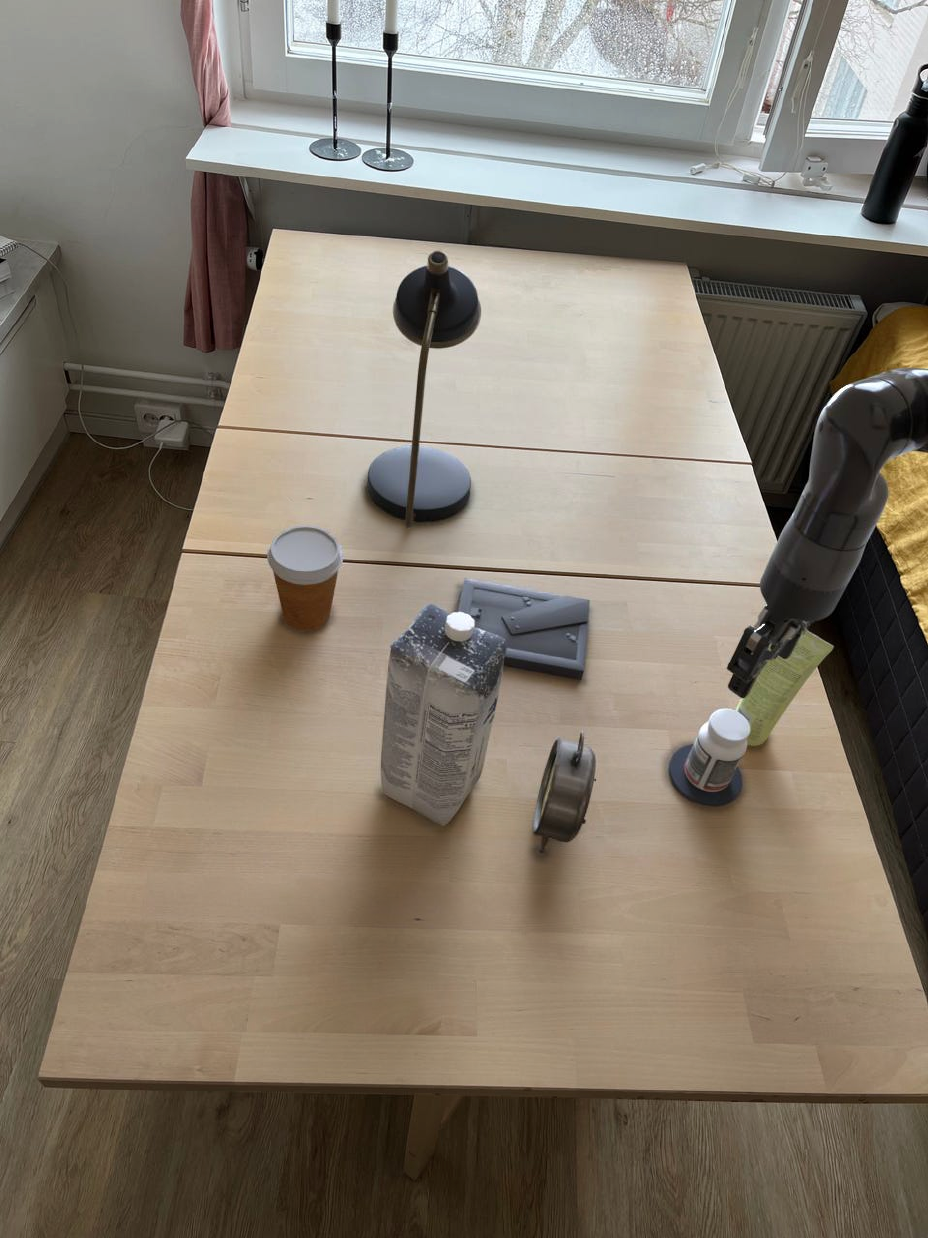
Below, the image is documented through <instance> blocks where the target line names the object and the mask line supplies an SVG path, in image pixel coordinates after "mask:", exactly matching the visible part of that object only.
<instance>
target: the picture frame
mask: <svg viewBox="0 0 928 1238" xmlns="http://www.w3.org/2000/svg"><path fill="white" fill-rule="evenodd" d="M590 603H591V600H590V599H586V598H581V597H576V596H571V595H565V594H564V595H562V594H557V593H552V592H551V593H550V592H545V591H540V590H535V589H530V588H529V589H528V588H522V587H517V586H512V585H506V584H500V583H494V582H489V581H484V580H479V579H473V578H466V577H464V580H463V584H462V589H461V593H460V599H459V603H458V608H457V611H456V613H458V612H463V613H465V614H469V615H470V616H471V618H473V619H474V621H475V623H474V627H475V628H478V629H481V630H484V631H487V632H490V633H492V634H495V635H498V636H500V637H502V638H504V639H505V640H506V643H507V646H506V653H505V657H504V663H503V667H507V668H512V669H517V670H521V671H528V672H534V673H537V674H538V673H539V674H545V675H550V676H555V677H561V678H567V679H571V680H578V681H582V679H583V676H584V673H585V664H586V652H587V651H586V650H587V640H588V630H589V629H588V628H589V615H590V605H591V604H590Z"/></svg>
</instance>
